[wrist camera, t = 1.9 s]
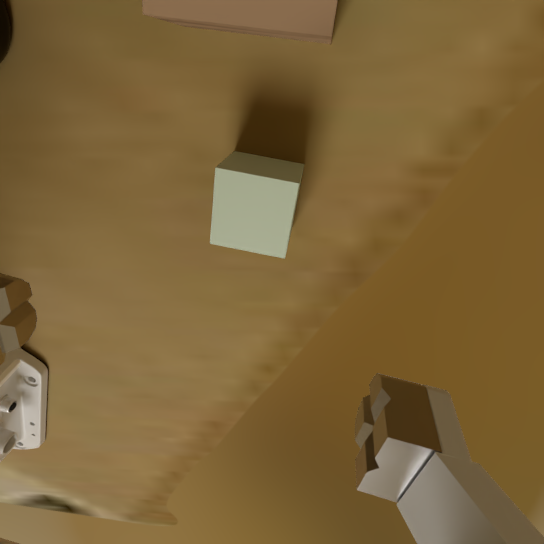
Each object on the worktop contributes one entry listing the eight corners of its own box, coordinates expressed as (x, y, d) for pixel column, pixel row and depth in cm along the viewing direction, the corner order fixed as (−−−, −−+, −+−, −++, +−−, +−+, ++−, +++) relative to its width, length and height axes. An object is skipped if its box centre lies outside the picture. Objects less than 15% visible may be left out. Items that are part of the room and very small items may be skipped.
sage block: (291, 229, 28) (284, 258, 24) (228, 216, 28) (210, 243, 24) (304, 163, 25) (299, 183, 21) (234, 150, 26) (215, 167, 21)
